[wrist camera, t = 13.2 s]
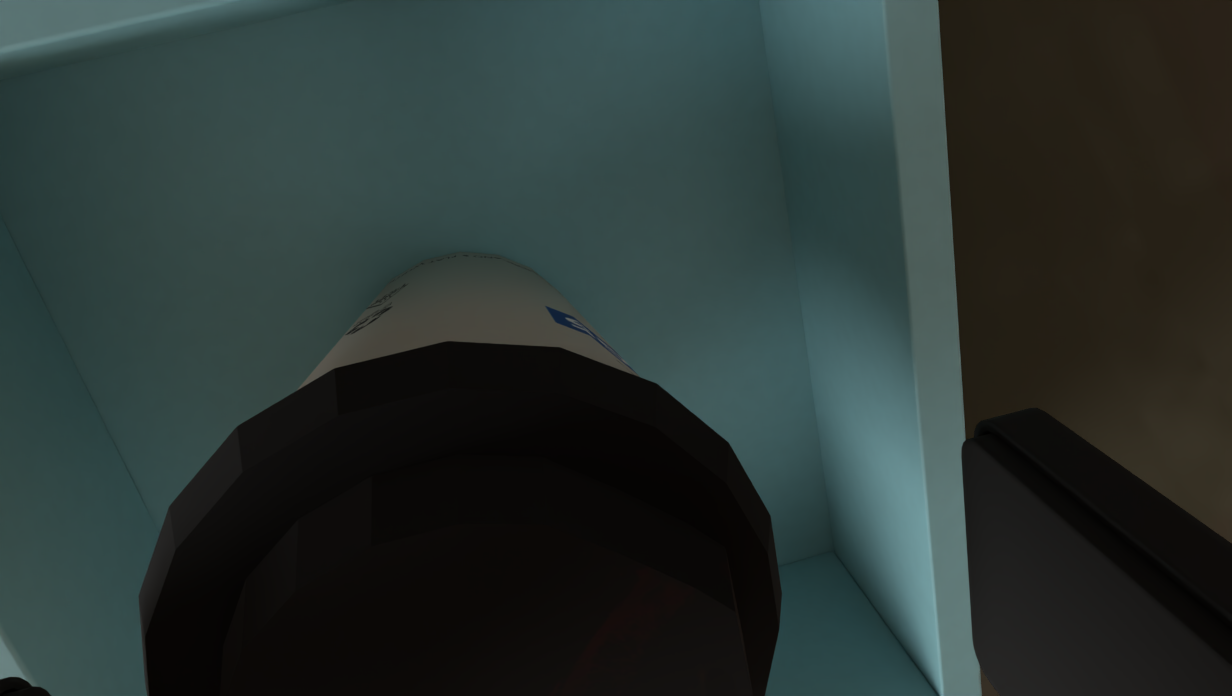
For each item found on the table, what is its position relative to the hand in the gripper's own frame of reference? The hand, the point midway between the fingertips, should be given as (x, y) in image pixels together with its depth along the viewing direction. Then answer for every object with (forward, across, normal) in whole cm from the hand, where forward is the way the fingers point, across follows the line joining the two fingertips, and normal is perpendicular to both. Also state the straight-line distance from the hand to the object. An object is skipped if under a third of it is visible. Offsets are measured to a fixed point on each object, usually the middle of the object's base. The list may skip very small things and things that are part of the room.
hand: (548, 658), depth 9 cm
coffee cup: (+10, +1, 0) cm, 10 cm away
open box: (+10, +1, 0) cm, 10 cm away
